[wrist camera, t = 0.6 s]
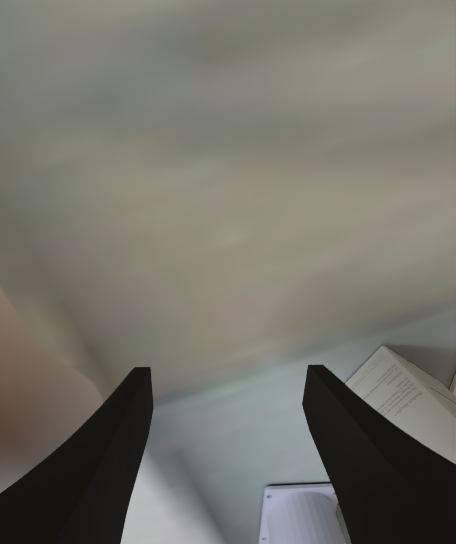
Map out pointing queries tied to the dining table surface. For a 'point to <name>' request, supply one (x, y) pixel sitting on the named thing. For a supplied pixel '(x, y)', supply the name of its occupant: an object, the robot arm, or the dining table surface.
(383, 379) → the supplement box
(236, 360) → the dining table surface
